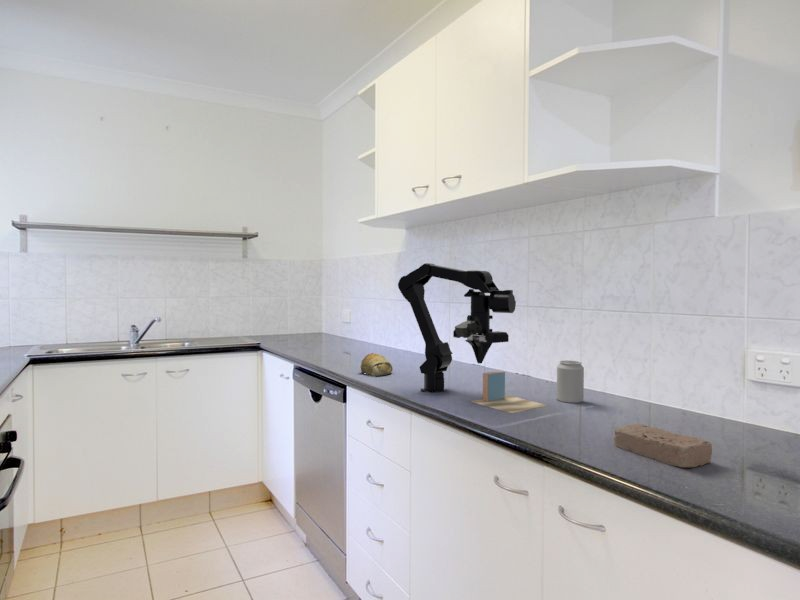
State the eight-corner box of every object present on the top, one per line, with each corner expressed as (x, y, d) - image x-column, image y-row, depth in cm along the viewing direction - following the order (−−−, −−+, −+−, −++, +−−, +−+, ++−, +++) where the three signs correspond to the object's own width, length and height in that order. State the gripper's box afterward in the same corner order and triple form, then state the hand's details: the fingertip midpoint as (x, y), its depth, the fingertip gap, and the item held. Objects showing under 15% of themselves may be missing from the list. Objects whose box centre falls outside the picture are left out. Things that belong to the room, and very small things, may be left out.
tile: (482, 400, 146) (482, 373, 146) (499, 397, 150) (500, 370, 150) (488, 401, 144) (488, 374, 144) (505, 398, 148) (505, 371, 148)
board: (470, 403, 145) (470, 401, 145) (506, 397, 153) (506, 395, 153) (511, 415, 132) (511, 413, 132) (549, 407, 140) (549, 405, 140)
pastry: (365, 370, 202) (365, 350, 202) (395, 371, 200) (395, 351, 200) (355, 376, 189) (355, 355, 188) (388, 377, 186) (388, 356, 186)
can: (585, 405, 142) (586, 363, 142) (558, 404, 144) (558, 362, 143) (581, 399, 150) (581, 359, 149) (555, 398, 151) (555, 359, 151)
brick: (611, 446, 107) (611, 425, 107) (637, 441, 111) (637, 420, 111) (686, 473, 92) (687, 448, 92) (713, 465, 96) (714, 441, 96)
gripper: (440, 311, 155) (439, 361, 155) (482, 314, 139) (481, 370, 140) (467, 310, 161) (466, 358, 162) (510, 313, 146) (509, 366, 146)
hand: (479, 363), depth 152 cm, fingers closed
